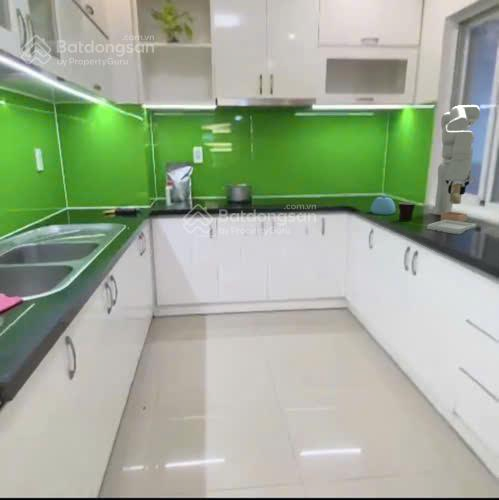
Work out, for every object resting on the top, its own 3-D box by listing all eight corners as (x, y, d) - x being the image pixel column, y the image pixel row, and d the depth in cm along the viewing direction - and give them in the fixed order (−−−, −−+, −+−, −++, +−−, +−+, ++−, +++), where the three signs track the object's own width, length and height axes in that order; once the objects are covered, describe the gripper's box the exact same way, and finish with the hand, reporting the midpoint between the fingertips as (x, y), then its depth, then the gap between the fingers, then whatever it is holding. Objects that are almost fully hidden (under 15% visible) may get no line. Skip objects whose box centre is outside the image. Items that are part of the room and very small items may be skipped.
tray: (427, 229, 200) (427, 224, 199) (445, 224, 212) (445, 219, 211) (458, 234, 188) (458, 229, 187) (475, 228, 200) (476, 224, 199)
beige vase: (447, 203, 196) (450, 183, 194) (452, 202, 199) (454, 182, 197) (457, 204, 193) (460, 184, 190) (462, 203, 196) (464, 183, 193)
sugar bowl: (397, 212, 249) (398, 194, 246) (392, 216, 236) (394, 197, 233) (373, 210, 256) (374, 193, 253) (367, 214, 244) (369, 195, 241)
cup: (440, 222, 216) (441, 213, 215) (448, 220, 222) (449, 211, 220) (457, 225, 209) (459, 216, 207) (465, 222, 214) (466, 213, 213)
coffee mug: (400, 218, 228) (401, 201, 225) (415, 220, 222) (417, 203, 220) (393, 221, 219) (394, 204, 216) (408, 223, 214) (410, 205, 211)
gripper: (440, 156, 194) (435, 193, 199) (476, 157, 181) (470, 196, 186) (447, 156, 199) (442, 191, 203) (482, 157, 186) (477, 194, 191)
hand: (456, 193), depth 195 cm, fingers closed on beige vase, 5 cm apart
